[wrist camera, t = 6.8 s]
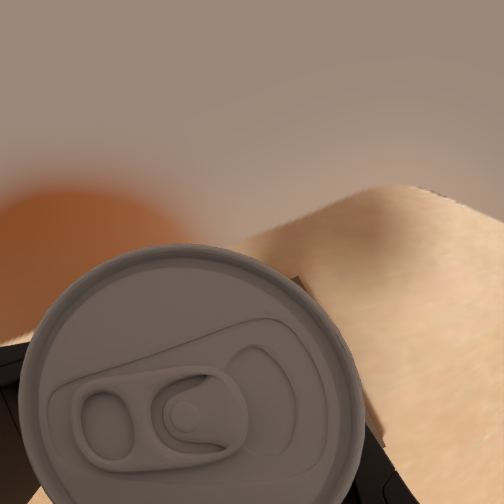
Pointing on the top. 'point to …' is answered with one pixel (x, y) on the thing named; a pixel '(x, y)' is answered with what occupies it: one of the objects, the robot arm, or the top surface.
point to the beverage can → (190, 386)
